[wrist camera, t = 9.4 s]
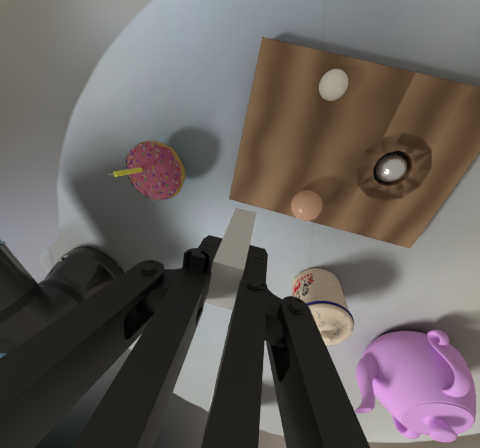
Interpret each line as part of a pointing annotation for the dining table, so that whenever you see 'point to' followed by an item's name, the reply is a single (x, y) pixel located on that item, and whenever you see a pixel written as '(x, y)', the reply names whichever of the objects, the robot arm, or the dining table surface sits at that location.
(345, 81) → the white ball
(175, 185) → the cupcake
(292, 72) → the wooden board
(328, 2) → the dining table surface
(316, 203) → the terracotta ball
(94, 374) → the robot arm
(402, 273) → the dining table surface
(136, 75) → the dining table surface
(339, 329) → the teacup with lid
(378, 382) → the teapot
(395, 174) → the steel ball
